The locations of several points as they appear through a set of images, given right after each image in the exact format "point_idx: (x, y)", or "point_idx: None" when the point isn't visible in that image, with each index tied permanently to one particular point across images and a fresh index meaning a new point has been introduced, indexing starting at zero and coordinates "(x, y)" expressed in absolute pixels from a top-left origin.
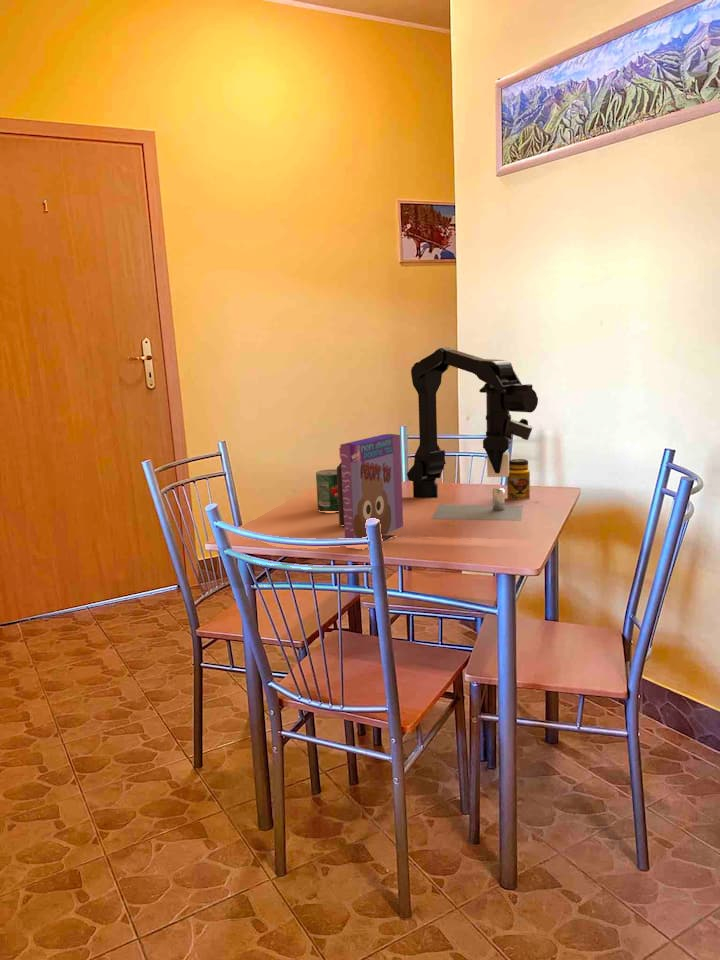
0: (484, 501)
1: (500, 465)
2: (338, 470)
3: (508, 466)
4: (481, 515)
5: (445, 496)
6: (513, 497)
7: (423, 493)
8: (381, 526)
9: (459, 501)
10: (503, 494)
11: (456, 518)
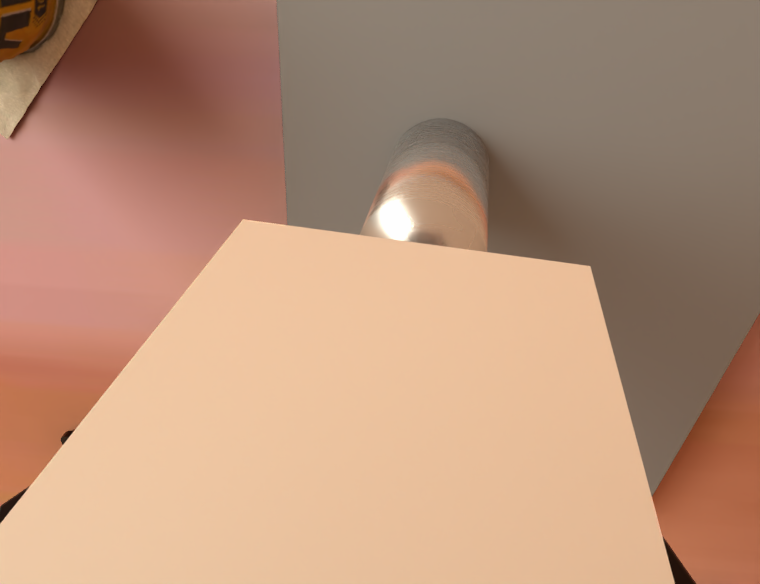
0: (48, 218)
1: (672, 556)
2: None
3: (422, 348)
4: (624, 298)
5: (14, 395)
6: (22, 16)
7: None
8: None
9: (99, 347)
10: (463, 187)
11: (670, 430)
